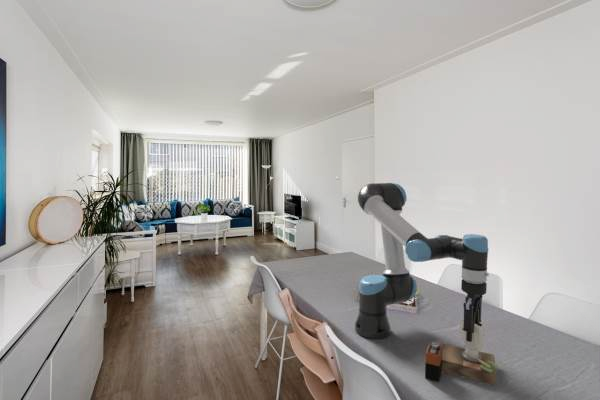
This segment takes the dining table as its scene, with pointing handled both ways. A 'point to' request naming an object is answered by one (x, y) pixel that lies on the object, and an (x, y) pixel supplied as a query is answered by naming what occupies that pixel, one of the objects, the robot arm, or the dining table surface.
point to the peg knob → (473, 355)
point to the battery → (433, 362)
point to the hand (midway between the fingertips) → (471, 346)
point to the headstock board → (468, 364)
